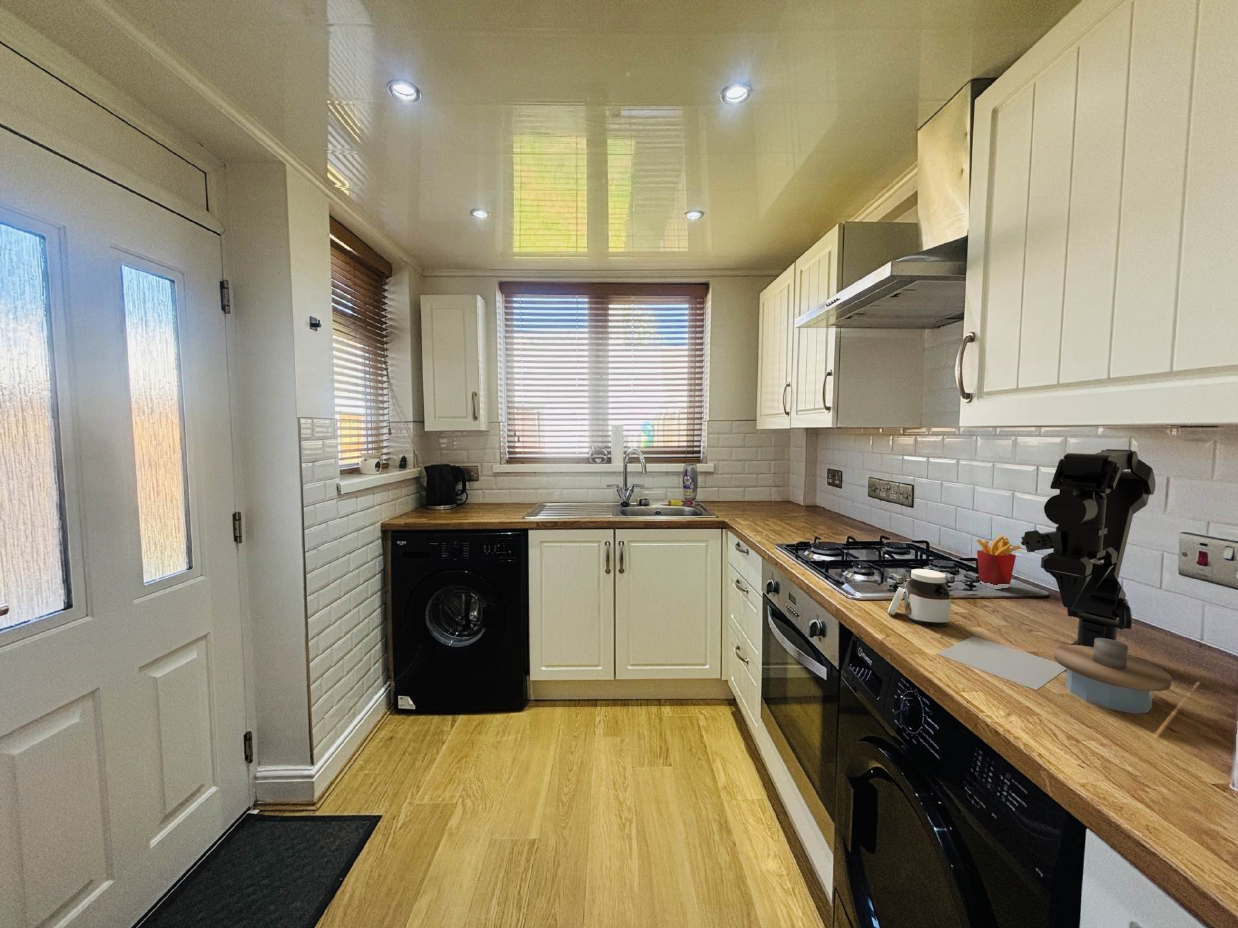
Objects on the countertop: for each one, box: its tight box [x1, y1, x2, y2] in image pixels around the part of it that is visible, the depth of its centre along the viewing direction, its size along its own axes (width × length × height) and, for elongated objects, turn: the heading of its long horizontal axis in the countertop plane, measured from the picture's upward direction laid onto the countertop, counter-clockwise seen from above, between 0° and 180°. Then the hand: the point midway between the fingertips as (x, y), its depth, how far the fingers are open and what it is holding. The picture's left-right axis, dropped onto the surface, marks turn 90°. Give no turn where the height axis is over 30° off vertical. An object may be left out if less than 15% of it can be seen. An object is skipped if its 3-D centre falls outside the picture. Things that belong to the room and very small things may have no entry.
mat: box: [936, 635, 1067, 691], centre depth 96 cm, size 16×16×1 cm
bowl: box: [1065, 669, 1154, 714], centre depth 83 cm, size 10×10×5 cm
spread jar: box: [887, 568, 952, 628], centre depth 117 cm, size 12×11×12 cm
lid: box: [1053, 638, 1172, 692], centre depth 83 cm, size 14×14×4 cm
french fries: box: [976, 535, 1022, 585], centre depth 141 cm, size 9×8×15 cm
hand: (1076, 603), depth 93 cm, fingers open, 9 cm apart
